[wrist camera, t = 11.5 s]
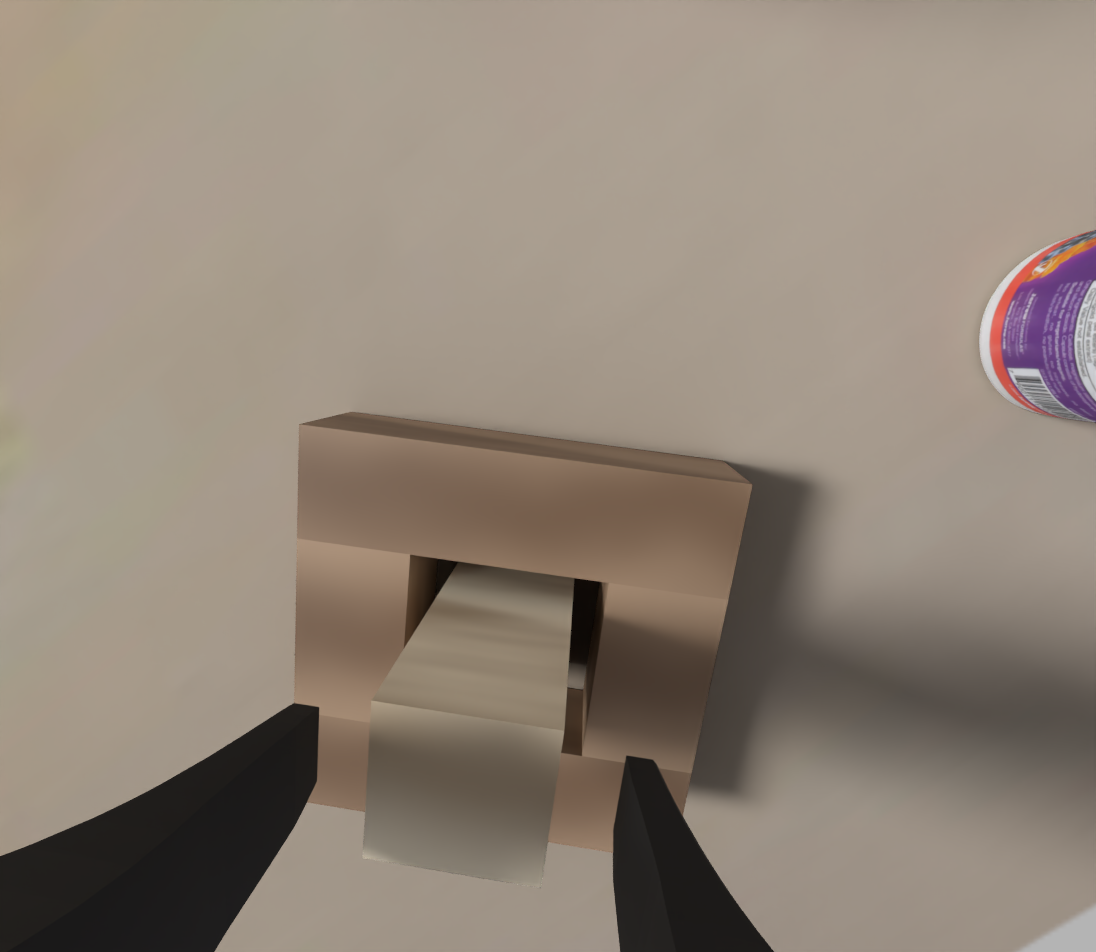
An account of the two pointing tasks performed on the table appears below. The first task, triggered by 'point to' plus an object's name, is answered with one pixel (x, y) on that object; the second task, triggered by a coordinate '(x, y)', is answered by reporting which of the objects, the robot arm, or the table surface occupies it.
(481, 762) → the peg
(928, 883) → the table surface
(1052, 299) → the pill bottle
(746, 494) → the socket block
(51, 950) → the robot arm
